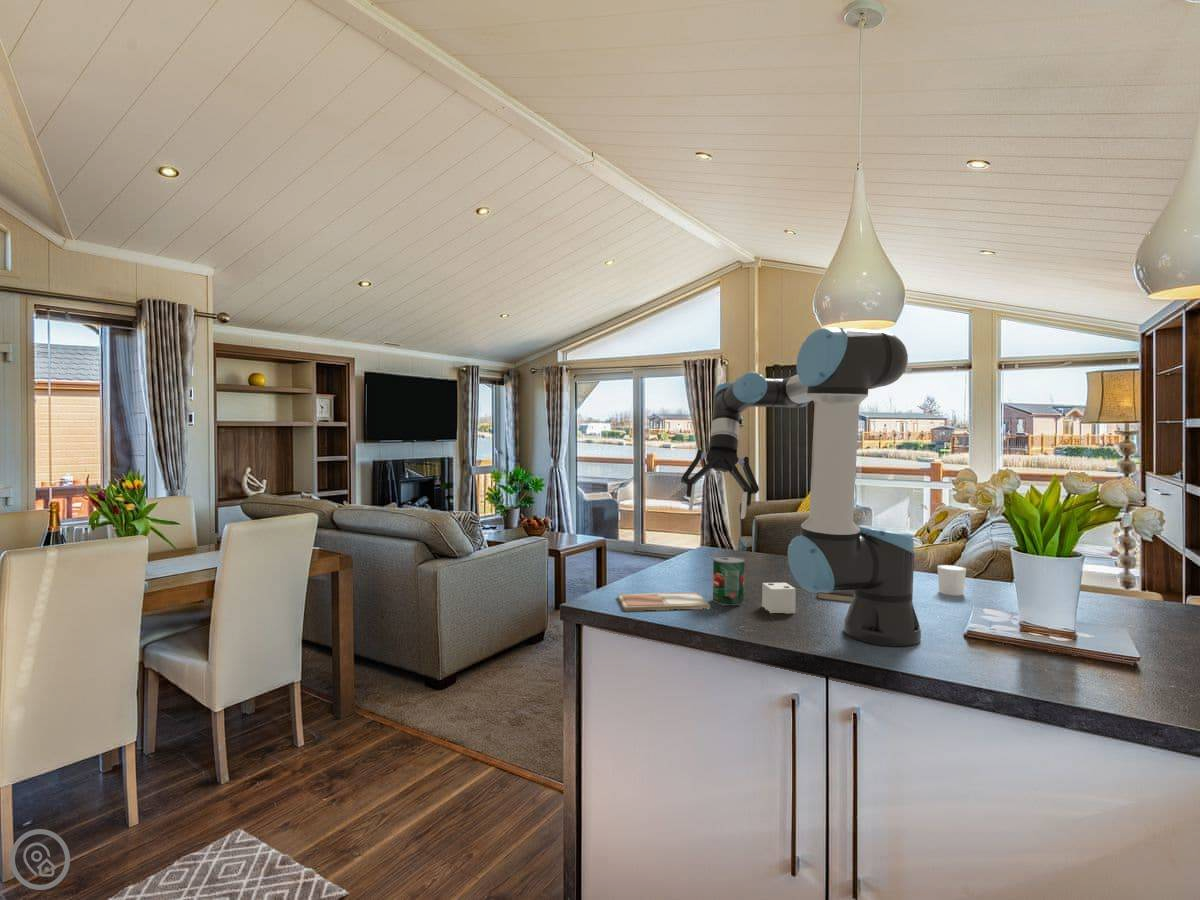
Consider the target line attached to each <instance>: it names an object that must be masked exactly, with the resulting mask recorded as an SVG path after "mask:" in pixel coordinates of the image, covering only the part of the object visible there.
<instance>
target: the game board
mask: <svg viewBox="0 0 1200 900" xmlns="http://www.w3.org/2000/svg"><path fill="white" fill-rule="evenodd" d="M617 598H618V600H619V602H620V604H621V606H622V608H623V610H624V612H644V610H656V611H674V610H673V609H678V610H677V611H680V610H679V609H693V610H706V609H705V608H710V609H711V604H710V603H709V602H707V600H706V599H705V598H704V597H702V595H701V594H700V593H699V592H694V591H693V592H691V591H690V592H662V593H661V592H657V593H656V592H655V593H618V594H617ZM703 608H704V609H703ZM670 609H671V610H670Z"/></svg>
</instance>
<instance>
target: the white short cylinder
mask: <svg viewBox="0 0 1200 900" xmlns="http://www.w3.org/2000/svg"><path fill="white" fill-rule="evenodd" d="M966 574H967V568H966V567H965V566H964V567H963V566H959V565H953V564H939V565H937V578H938V592H939V593H940V594H943V595H947V596H959V597H960V596H962V595H964V589H965V581H966Z"/></svg>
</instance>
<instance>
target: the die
mask: <svg viewBox="0 0 1200 900" xmlns="http://www.w3.org/2000/svg"><path fill="white" fill-rule="evenodd" d="M761 586H762V587H761V588H762V589H761V590H762V591H761V592H762V593H761V599H762V600H761V607H762V608H763V607H764V608H765V609H764V608H763V609H764V610H766V611H767V610H768V611H769V612H770V613H769V612H768V611H767V612H768V613H769V614H771V613H785V614H796V602H797V601H796V600H797V599H796V598H797V597H796V596H797V595H796V591H797V589H796V588H795V587H794V586H792V585H790V584H789V583H787V582H762V585H761Z"/></svg>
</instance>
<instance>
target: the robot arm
mask: <svg viewBox="0 0 1200 900" xmlns="http://www.w3.org/2000/svg"><path fill="white" fill-rule="evenodd" d="M908 356H909V355H908V351H907V348H906V345H905V344H904V343H903V341H902V340H901V339H900V338H898V336H896V335H894V334H893V333H891V332H889V331H885V330H881V329H873V330H872V329H862V328H861V329H860V328H851V327H850V328H849V327H841V326H840V327H839V326H838V327H822V328H818V329H816V330H814V331H812V332H811V333H810V334H809V335H808V336H807V337H806V338H805V340H804V341H803V343H802V344H801V346H800V348H799V351H798V353H797V358H796V365H795V366H796V374H795V375H793V376H790V377H787V378H769V377H768V378H767V377H766V378H765V377H764V376H763V375H762V374H761V373H758V372H756V371H748V372H746V373H744V374H743V375H741V376H739V377H738V378H736V379H735V381H734V382H723V383H720V384H718V385H717V386H716V387H715V391H714V392H715V393H714V396H713V405H712V418H711V419H712V420H711V427H710V438H709V444H708V452H704V451H703V450H702V449H698V450H697V452H696V453H695V454H696V455H695V457H694V459H693V460H692V462H691V464H690V465H689V467H688V468H687V469H686V471H685V472H684V473H683V475H682V476H681V478H680V482H681V484H685V485H686V491H685V492H686V493H685V497H686V498H689V502H688V503H689V504H688V511H689V512H692V511H693V509H694V499H695V492H696V491H695V490H696V484H695V483H696V482H697V481H699V480H700V479H701V478H702V477H704V476H705V474H707V473H708V472H710V471H711V470H714V471H715V472H722V473H727V472H729V474H730V475H732V476H733V479H735V481H736V483H737V484H738V485H739V487H740V488H741V489H742V491H743V493H742V495H741V496H742V497H741V508H740V509H741V510H740V519H741V520H744V519H745V518H746V514H747V507H750V506H751V502H752V495H753V494H754V495H757V493H758V492H759V491H760V488H759V485H758V483H757V480H756V478H755V476H754V473H753V471H752V469H751V466H750V458H749V457H748V456H745V457H738V449H739V448H738V445H739V435H740V424H741V423H740V422H741V416H742V415H741V414H742V413H743V412H744V411H746V410H747V409H749V408H751V407H753V408H755V407H756V408H757V407H762V408H768V407H769V408H770V407H771V408H773V407H775V408H776V407H777V408H792V409H793V408H794V409H795V408H804V407H806V406H808V404H809V403H811V401H813V404H814V410H813V430H812V432H813V434H812V449H811V471H810V472H811V473H810V492H809V510H808V511H809V515H808V518H807V519H805V520H804V521H803V522H802V523H801V524H800V535H796V536H795V537H793V538H792V539H791V541H790V543H789V544H788V547H787V561H788V565H789V569H790V572H791V574H792V575H793V578H794V580H795V581H796V582H797V584H798V585H799V586H800V587H801V588H802V589H803V590H805V591H807V592H809V593H818V592H823V593H831V592H837V591H848V590H854V594H853V599H852V601H851V602H850V605H849V607H848V610H847V612H846V616H845V617H844V620H843V621H844V623H843V627H844V628H843V630H844V631H843V632H844V633H845V634H846V635H847V636H849V637H850V638H852V639H855V640H857V641H861V642H864V643H868V644H871V645H872V644H873V645H876V646H877V645H879V646H886V647H910V646H914V645H915V646H916V645H917V644H919V643H920V642H921V639H922V635H921V634H922V631H921V630H922V629H921V626H920V623H919V620H918V616H917V613H916V610H915V607H914V604H913V595H914V591H913V590H914V571H915V570H914V568H915V565H914V564H915V556H916V553H915V548H914V547H915V544H914V538H913V536H912V535H911V534H909V533H907V532H906V531H905V532H904V531H900V530H896V529H892V528H891V529H890V528H886V527H877V526H871V525H862V524H860V525H859V524H858V525H857V524H856V523H855V521H854V509H855V508H854V506H855V490H856V489H855V488H856V471H857V453H858V437H859V435H858V433H859V421H860V419H859V418H860V417H859V416H860V405H861V403H862V402H863V401H865V400H866V398H867V397H868V396H869V390H873V389H876V388H881V387H886V386H889V385H891V384H894V383H895V382H896V381H898V380H900V378H901V377H902V376H903V374H904V373H905V371H906V369H907V367H908V362H909V360H908V358H909V357H908ZM705 458H706V460H707V462H708V463H706V465H704V466H703V467H702V468H701V469H700V470H699V471H697V472H696V473H695V474H694V475H692V476H691V474H692V473H693V471H694V470H695V468H696V467H697V466H698V464H699V463H700V461H703V460H704V459H705ZM738 463H739V465H740V466H741V467H742V470H743V473H744V475H745V477H746V479H747V481H746V479H745V478H744V477H743V475H742V474H741V472H740V471H739V469H738V467H737V466H736V465H737V464H738ZM690 476H691V477H690ZM689 477H690V478H689Z"/></svg>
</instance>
